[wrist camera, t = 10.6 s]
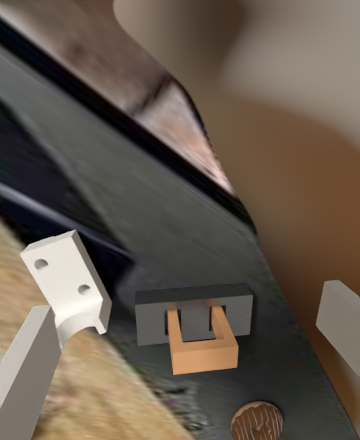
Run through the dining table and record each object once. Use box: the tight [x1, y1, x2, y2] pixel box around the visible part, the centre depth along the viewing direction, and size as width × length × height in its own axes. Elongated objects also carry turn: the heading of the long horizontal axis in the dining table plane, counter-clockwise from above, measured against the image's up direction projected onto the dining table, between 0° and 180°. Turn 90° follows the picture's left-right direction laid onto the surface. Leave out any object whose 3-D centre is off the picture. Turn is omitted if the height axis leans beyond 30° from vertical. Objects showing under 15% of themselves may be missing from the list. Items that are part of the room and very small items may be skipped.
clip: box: [167, 306, 238, 375], centre depth 40 cm, size 4×8×10 cm, turn 90°
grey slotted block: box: [135, 283, 253, 346], centre depth 44 cm, size 8×18×4 cm, turn 91°
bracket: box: [20, 230, 112, 348], centre depth 38 cm, size 13×7×8 cm, turn 18°
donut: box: [231, 401, 283, 440], centre depth 54 cm, size 11×11×4 cm
